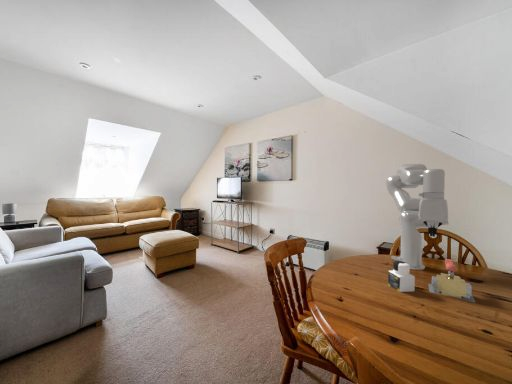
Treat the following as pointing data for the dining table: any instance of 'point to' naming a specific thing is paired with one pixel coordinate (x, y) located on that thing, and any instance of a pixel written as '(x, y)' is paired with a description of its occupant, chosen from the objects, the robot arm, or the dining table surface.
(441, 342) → the dining table surface
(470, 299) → the mat
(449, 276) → the valve
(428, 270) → the dining table surface
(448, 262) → the lever
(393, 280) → the medicine bottle
